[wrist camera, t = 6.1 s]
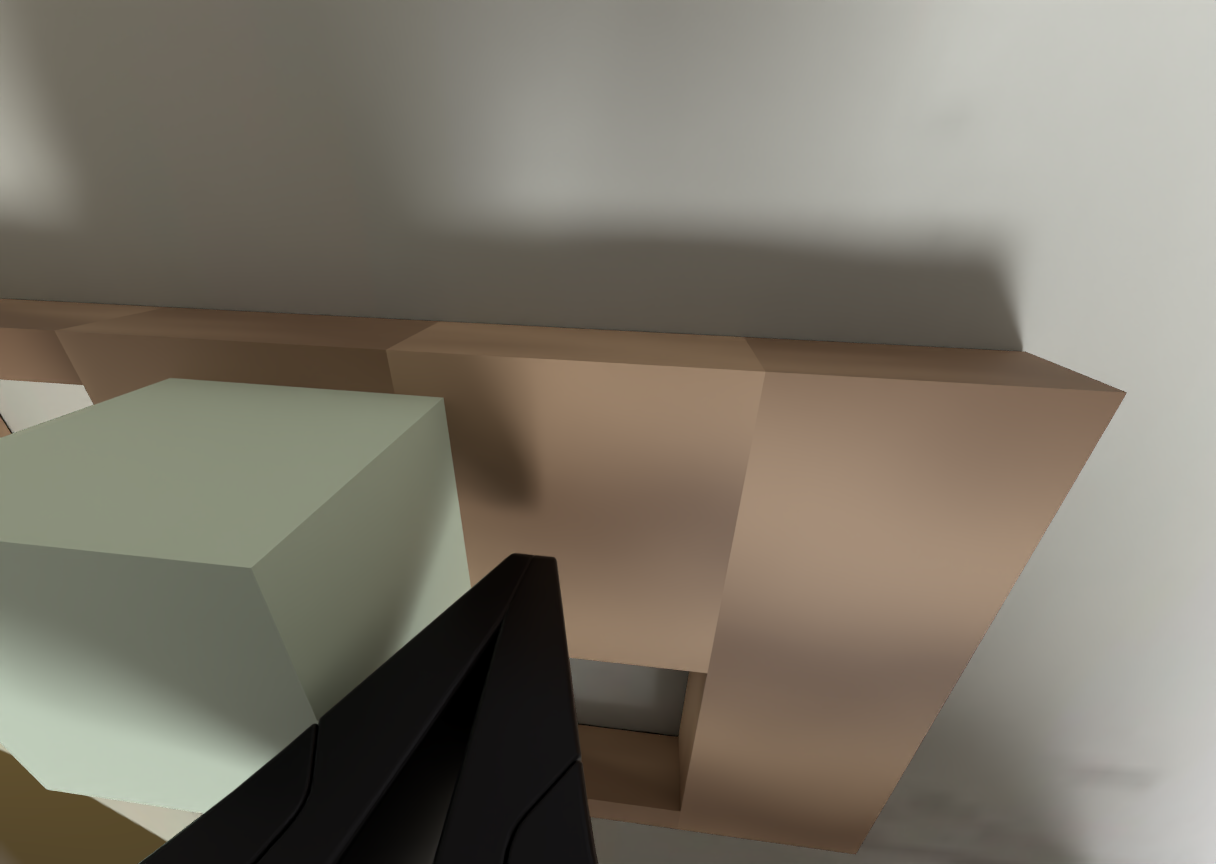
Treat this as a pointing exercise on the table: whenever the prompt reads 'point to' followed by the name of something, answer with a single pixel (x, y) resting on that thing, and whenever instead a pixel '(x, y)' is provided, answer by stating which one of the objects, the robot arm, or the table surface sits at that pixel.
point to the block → (212, 576)
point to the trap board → (694, 518)
